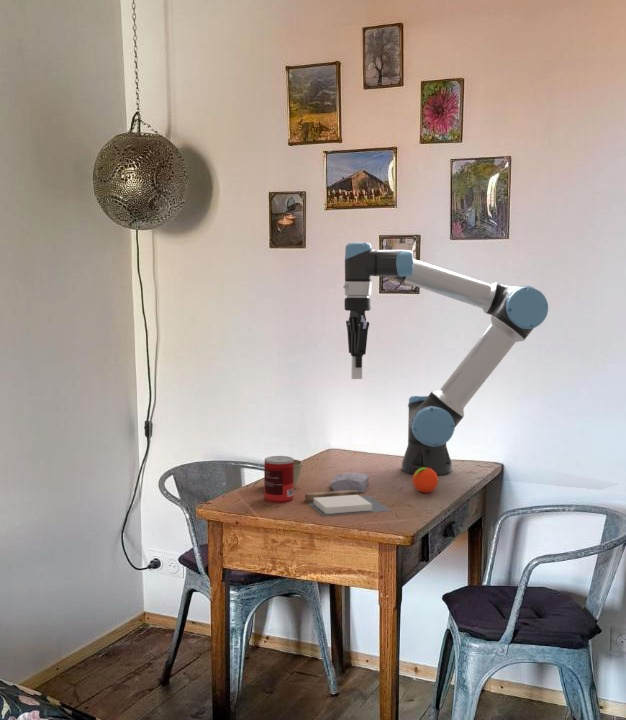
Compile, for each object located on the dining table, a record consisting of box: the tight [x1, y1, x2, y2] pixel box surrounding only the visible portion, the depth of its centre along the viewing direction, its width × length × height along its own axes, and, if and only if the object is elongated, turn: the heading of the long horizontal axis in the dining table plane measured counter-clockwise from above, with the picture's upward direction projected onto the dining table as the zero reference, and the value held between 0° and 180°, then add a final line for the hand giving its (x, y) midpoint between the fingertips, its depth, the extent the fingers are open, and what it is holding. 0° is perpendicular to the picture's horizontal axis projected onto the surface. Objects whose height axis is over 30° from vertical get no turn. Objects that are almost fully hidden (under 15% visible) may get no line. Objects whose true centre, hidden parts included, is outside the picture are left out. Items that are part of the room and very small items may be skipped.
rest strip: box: [304, 490, 360, 504], centre depth 216 cm, size 14×2×2 cm, turn 107°
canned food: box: [263, 455, 295, 504], centre depth 217 cm, size 8×8×11 cm
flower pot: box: [293, 458, 303, 487], centre depth 231 cm, size 10×10×7 cm
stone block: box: [330, 472, 369, 493], centre depth 231 cm, size 12×5×10 cm
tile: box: [314, 494, 372, 514], centre depth 208 cm, size 12×2×10 cm
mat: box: [307, 495, 393, 517], centre depth 211 cm, size 18×16×1 cm
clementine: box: [412, 467, 439, 494], centre depth 226 cm, size 8×7×7 cm
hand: (356, 378), depth 240 cm, fingers closed
